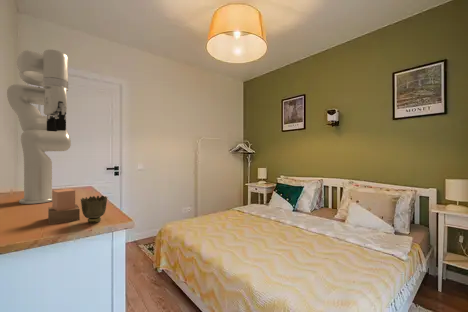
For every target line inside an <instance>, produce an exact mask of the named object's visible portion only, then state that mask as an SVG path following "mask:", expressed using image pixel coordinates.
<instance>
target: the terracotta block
mask: <svg viewBox="0 0 468 312" xmlns="http://www.w3.org/2000/svg"><path fill="white" fill-rule="evenodd" d="M51 202H52V203H51V204H52V206H51V207H52V209H54V210H57V211H60V210H66V209H73V208H75V204H76V190H75V189H73V188H64V189H54V190H53V189H52V201H51Z"/></svg>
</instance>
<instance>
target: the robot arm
mask: <svg viewBox="0 0 468 312" xmlns="http://www.w3.org/2000/svg"><path fill="white" fill-rule="evenodd" d="M16 59H17V60H16V65H17V69H18V71H19V73H18V74H19V77H20V79H21V80H22V81H23V82H24V83H25V84H19V83H17V84H11V85H10V86H8V88H7V89H6V98H7V101H8V104H9V105H10V108H11V109H12V110H13V111H14V113H16V115H17V118H18V122H19V125H20V127H21V130H22V131H23V132H22V133H21V135H20V142H21V148H22V153H23V155H22V156H23V198H21V199H19V201H18V202H19V204H21V205H31V204H32V205H33V204H36V205H37V204H44V203H49V202H52V190H53V162H52V159H51V158H50V156H49V155H48V154H46V153H47V152H65V151H68V150H69V149H70V148H71V146H72V143H71V136H70V134H69V132H68V129H67V116H66V115H67V112H68V110H67V109H68V100H67V92H68V91H69V57H68V55H67V54H66V53H65V52H63V51H60V50H56V49H45V50H44V51H43V53H40V52H37V51H32V50H28V49H27V50H26V49H25V50H22V51H21V52H20V53H18V56H17V58H16ZM27 84H28V85H27ZM35 105H40V106H43V115H42V114H41V112H40V110H39V109H38V108H37V107H36V106H35ZM45 152H46V153H45Z"/></svg>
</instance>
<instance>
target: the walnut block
mask: <svg viewBox="0 0 468 312" xmlns="http://www.w3.org/2000/svg"><path fill="white" fill-rule="evenodd" d="M47 209H48V210H47V212H48V215H47V216H48V217H47V218H48V225H53V224H54V225H55V224H60V223H68V222H69V223H70V222H74V221H75V222H76V221H80V216H81V215H80V213H81V210H80V207H79V206H78V204H76V203H75V208H73V209H66V210H60V211H57V210H54V209H52V206H51V207H49V206H48V208H47Z"/></svg>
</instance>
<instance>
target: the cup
mask: <svg viewBox="0 0 468 312" xmlns="http://www.w3.org/2000/svg"><path fill="white" fill-rule="evenodd" d="M107 201H108V196H104V195H101V196H99V195H96V196H95V195H93V196H91V195H90V196H89V197H87V196H86V197H82V198H80V204H81V212H82V215H83V216H84V217H85V218H87V222H88V223H89V224H98V223H99V222H101V220H102V217H103V216H104V214H105V213H106V210H107Z"/></svg>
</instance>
